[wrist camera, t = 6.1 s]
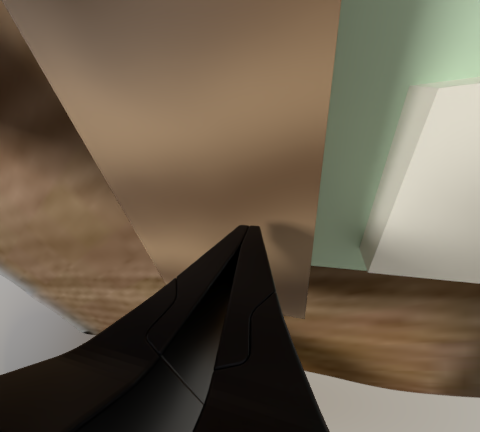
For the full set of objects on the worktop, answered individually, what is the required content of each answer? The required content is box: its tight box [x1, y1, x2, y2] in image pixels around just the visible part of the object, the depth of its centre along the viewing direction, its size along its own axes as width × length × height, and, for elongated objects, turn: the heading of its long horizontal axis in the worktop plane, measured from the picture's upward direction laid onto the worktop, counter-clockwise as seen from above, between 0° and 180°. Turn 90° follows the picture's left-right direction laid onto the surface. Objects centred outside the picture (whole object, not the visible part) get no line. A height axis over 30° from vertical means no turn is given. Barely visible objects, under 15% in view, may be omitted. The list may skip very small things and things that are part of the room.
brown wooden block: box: [2, 0, 341, 319], centre depth 10 cm, size 18×10×4 cm, turn 8°
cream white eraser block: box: [359, 77, 480, 284], centre depth 8 cm, size 9×6×2 cm, turn 8°
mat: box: [311, 0, 480, 271], centre depth 9 cm, size 16×10×1 cm, turn 8°
